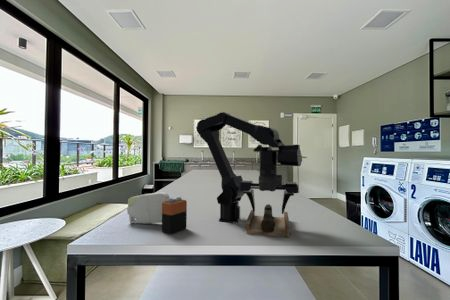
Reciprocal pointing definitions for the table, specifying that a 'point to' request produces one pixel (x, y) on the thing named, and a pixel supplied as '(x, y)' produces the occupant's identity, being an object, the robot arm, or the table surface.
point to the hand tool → (268, 220)
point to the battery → (174, 215)
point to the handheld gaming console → (146, 208)
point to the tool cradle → (279, 230)
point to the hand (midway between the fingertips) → (268, 212)
